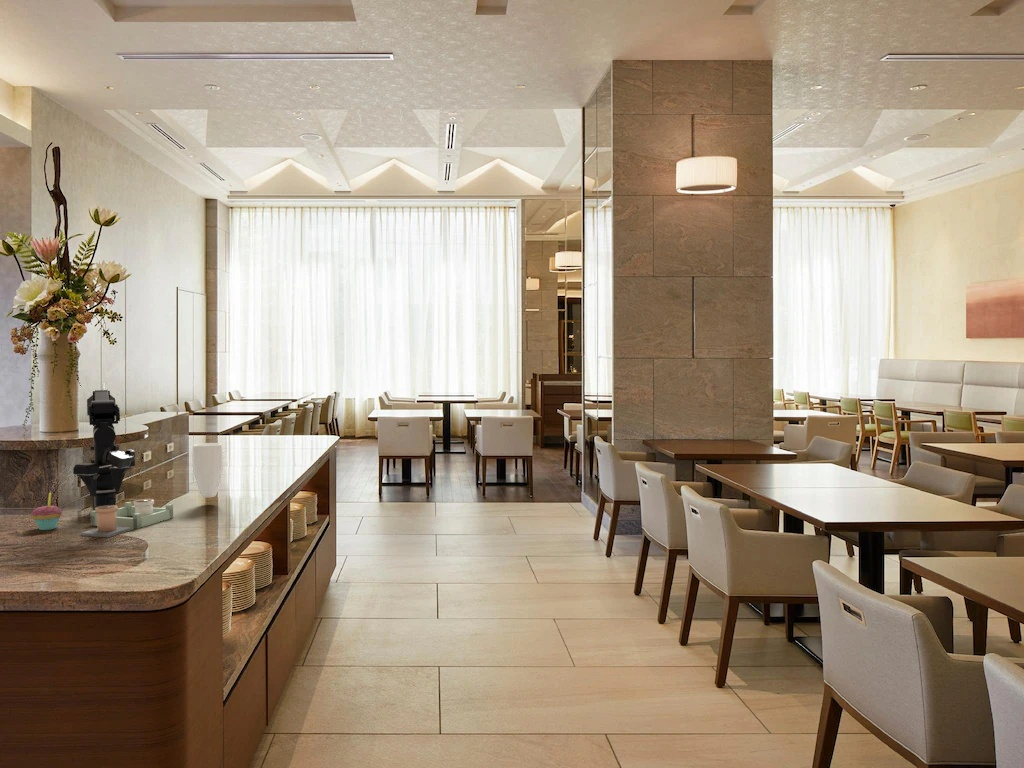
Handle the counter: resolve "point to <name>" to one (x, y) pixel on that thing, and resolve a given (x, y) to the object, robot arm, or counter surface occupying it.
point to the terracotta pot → (106, 518)
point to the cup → (207, 467)
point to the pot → (144, 506)
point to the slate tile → (106, 534)
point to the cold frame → (137, 516)
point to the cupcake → (46, 516)
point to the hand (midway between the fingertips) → (105, 493)
